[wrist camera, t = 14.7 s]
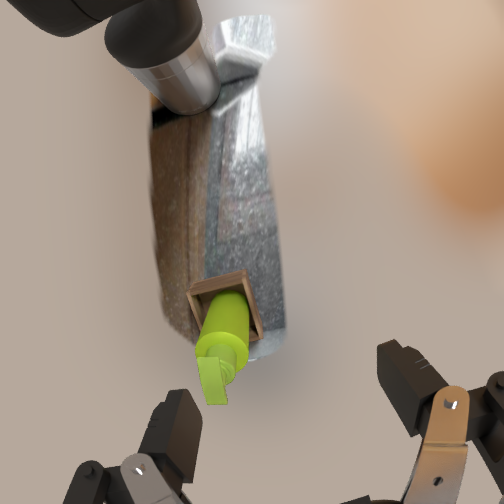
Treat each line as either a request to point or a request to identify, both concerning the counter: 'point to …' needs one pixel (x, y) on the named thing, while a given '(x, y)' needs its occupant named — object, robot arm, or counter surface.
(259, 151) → the counter surface
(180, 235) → the counter surface
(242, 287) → the walnut caddy
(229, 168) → the counter surface
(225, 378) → the soap dispenser
